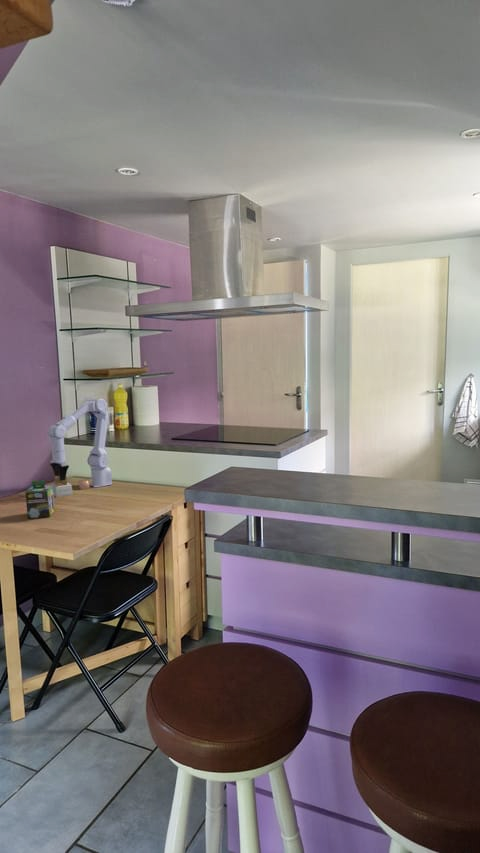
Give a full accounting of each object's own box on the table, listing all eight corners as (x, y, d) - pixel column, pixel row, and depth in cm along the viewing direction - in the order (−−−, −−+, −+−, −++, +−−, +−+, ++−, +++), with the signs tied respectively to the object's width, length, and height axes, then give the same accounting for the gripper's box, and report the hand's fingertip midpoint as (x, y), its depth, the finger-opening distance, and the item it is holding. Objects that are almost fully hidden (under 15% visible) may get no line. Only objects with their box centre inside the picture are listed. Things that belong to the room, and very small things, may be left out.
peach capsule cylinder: (88, 486, 272) (87, 478, 271) (90, 488, 267) (90, 480, 267) (78, 488, 269) (77, 480, 269) (80, 490, 265) (79, 482, 265)
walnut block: (64, 483, 260) (63, 474, 259) (67, 484, 256) (66, 476, 255) (54, 484, 257) (54, 476, 257) (57, 486, 254) (56, 477, 253)
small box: (67, 492, 263) (66, 481, 262) (72, 495, 257) (72, 484, 256) (51, 494, 259) (50, 484, 258) (56, 498, 252) (55, 487, 251)
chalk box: (55, 511, 230) (52, 477, 228) (50, 517, 221) (47, 482, 219) (33, 512, 229) (30, 478, 227) (26, 518, 220) (23, 483, 218)
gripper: (45, 449, 258) (47, 477, 260) (54, 453, 246) (56, 482, 248) (60, 448, 262) (62, 475, 264) (69, 451, 250) (71, 480, 252)
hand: (60, 478), depth 256 cm, fingers open, 7 cm apart
